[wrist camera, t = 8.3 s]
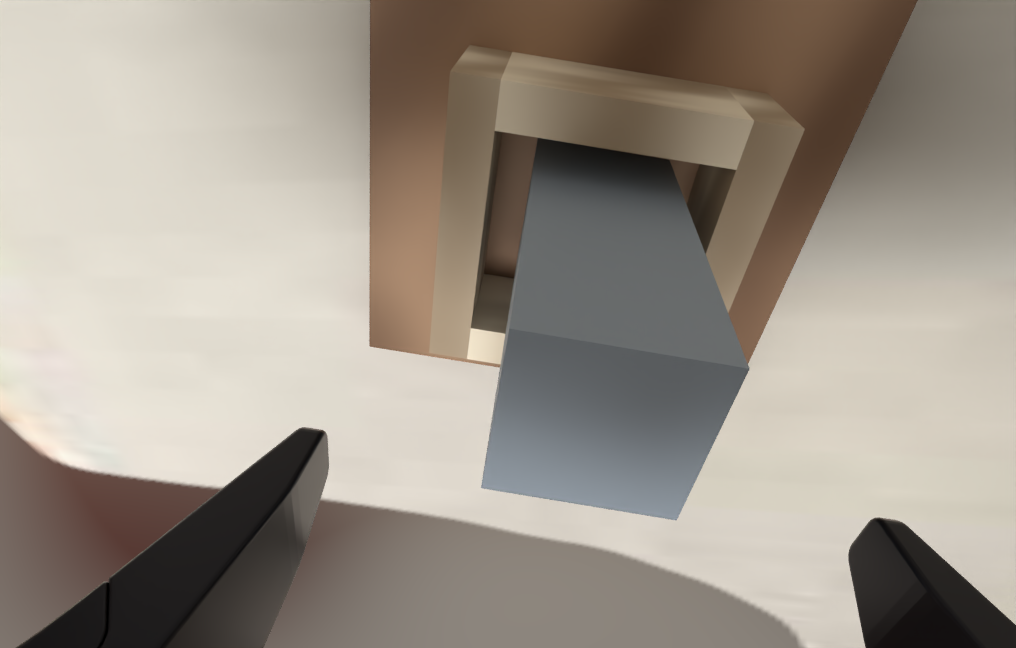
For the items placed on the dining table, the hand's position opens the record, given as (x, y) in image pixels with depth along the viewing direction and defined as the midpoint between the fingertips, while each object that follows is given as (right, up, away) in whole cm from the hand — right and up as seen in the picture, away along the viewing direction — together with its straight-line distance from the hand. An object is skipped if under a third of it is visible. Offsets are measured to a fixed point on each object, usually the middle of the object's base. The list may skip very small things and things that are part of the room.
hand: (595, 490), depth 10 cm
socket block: (+1, +7, +10) cm, 13 cm away
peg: (+1, +6, +9) cm, 11 cm away
